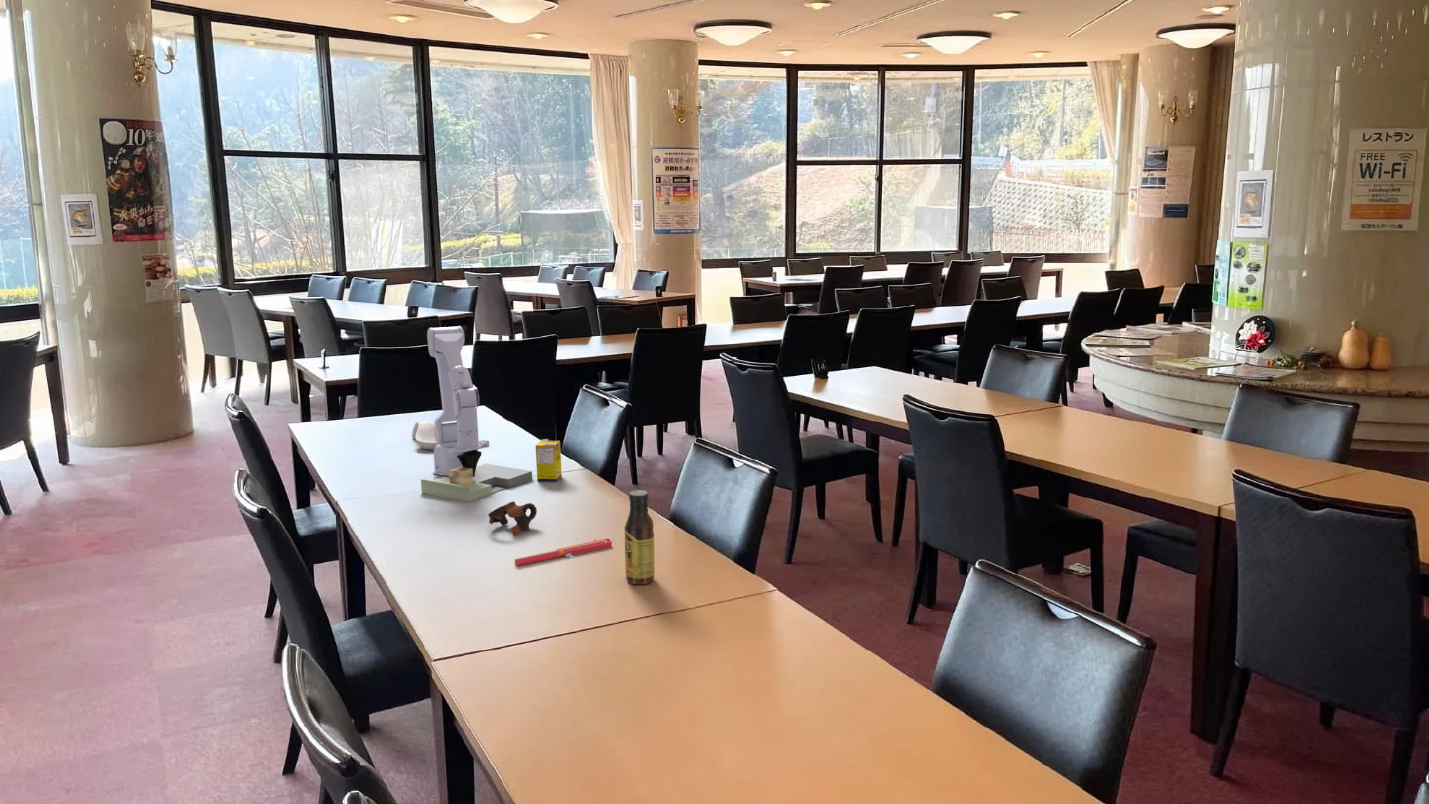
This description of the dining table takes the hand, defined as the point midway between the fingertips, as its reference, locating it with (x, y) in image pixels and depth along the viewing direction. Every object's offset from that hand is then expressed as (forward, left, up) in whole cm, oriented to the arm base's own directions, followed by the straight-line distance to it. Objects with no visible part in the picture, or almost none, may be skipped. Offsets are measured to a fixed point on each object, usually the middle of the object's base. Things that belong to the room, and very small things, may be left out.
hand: (470, 476), depth 288 cm
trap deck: (0, +3, -3) cm, 5 cm away
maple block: (0, -4, -1) cm, 4 cm away
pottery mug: (+36, -22, -4) cm, 42 cm away
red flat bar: (+59, -31, -4) cm, 66 cm away
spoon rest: (-51, +33, -4) cm, 61 cm away
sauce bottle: (+83, -35, -4) cm, 90 cm away
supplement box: (+13, +19, -4) cm, 23 cm away
